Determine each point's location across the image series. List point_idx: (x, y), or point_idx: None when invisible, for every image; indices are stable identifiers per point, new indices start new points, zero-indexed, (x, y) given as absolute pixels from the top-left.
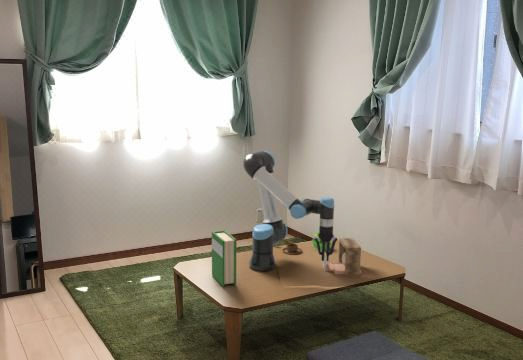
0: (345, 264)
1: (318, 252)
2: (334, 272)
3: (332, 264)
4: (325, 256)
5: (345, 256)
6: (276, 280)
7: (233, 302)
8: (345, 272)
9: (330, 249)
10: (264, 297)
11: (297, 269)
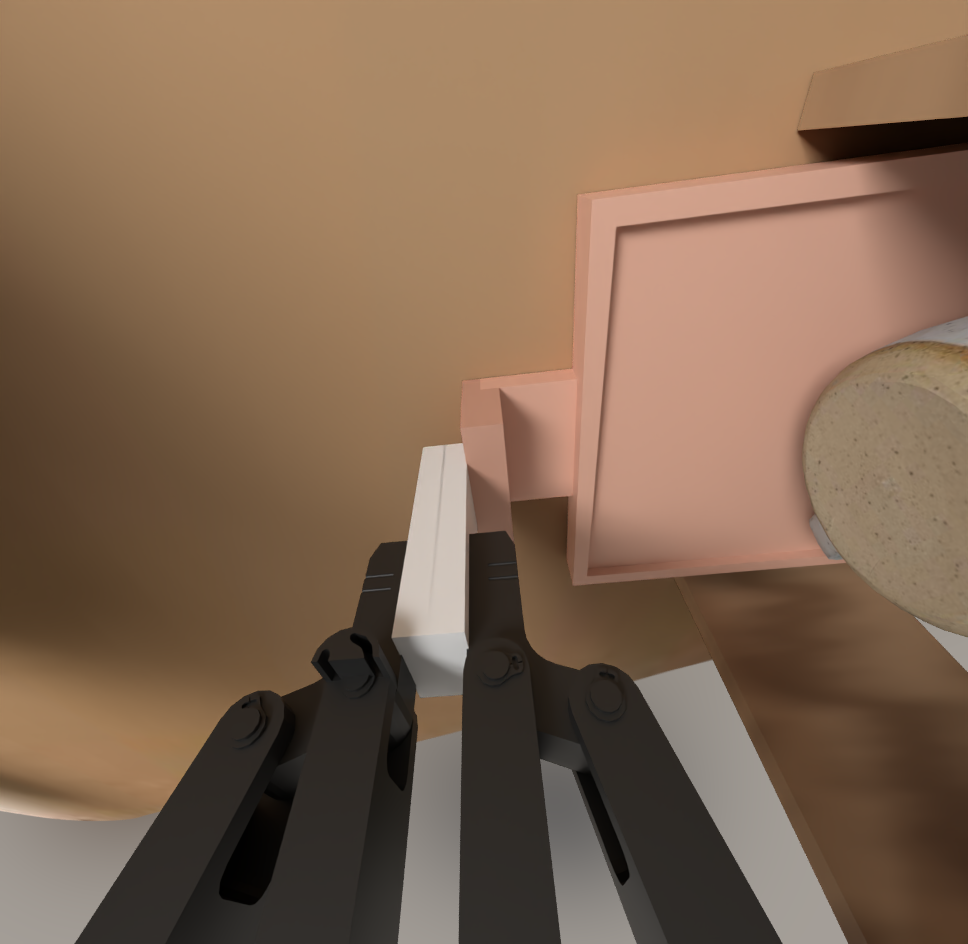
0: (732, 693)
1: (225, 747)
2: (569, 545)
3: (623, 292)
4: (448, 686)
5: (951, 627)
6: (61, 682)
7: (58, 809)
8: (685, 596)
9: (633, 861)
10: (156, 787)
11: (60, 465)
